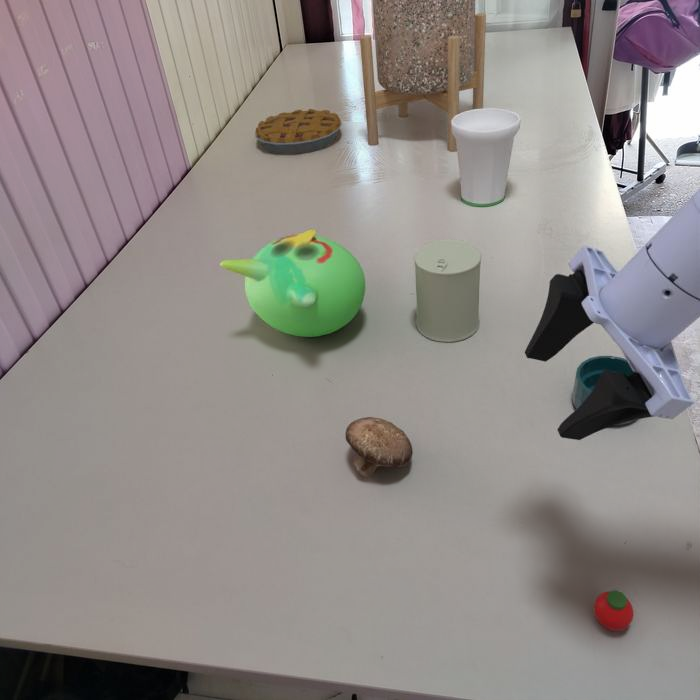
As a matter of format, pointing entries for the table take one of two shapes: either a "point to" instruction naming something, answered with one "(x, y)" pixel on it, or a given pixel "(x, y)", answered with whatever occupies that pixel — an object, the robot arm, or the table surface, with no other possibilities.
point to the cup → (484, 153)
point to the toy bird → (302, 284)
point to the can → (447, 290)
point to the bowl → (596, 375)
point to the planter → (423, 57)
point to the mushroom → (377, 445)
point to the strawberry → (613, 610)
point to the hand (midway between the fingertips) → (551, 393)
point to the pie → (298, 131)
